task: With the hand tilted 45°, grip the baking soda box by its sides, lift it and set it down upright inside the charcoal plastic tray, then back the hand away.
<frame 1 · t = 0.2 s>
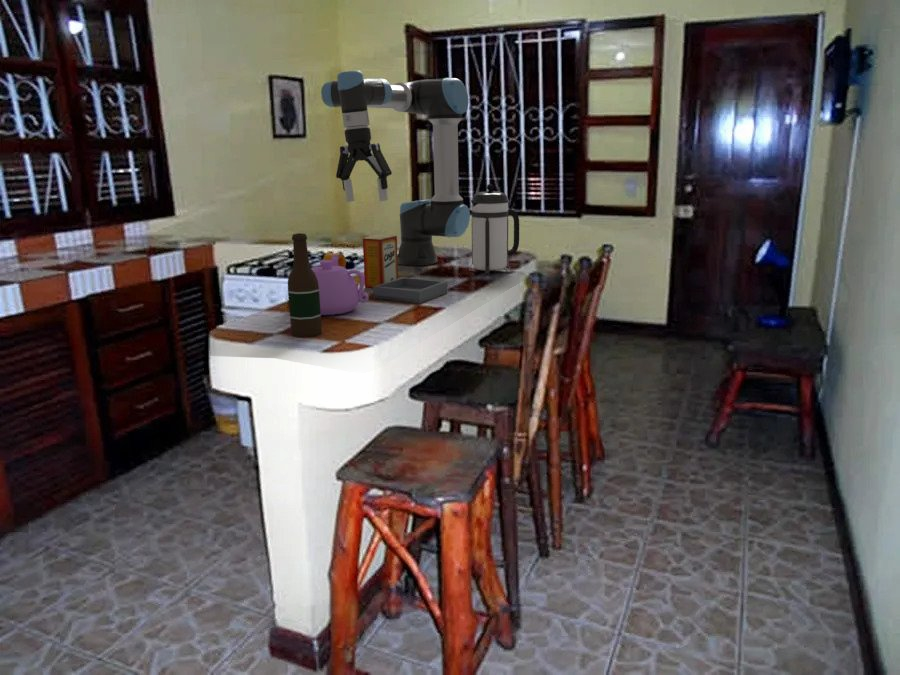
hand: (366, 201, 210), 27 cm above the table, tool pointing down, fingers open, 13 cm apart
teapot: (330, 309, 193), on the table
bracket: (339, 293, 214), on the table
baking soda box: (382, 286, 222), on the table
tray: (410, 295, 208), on the table
beer bottle: (306, 334, 169), on the table
coffee press: (492, 271, 244), on the table
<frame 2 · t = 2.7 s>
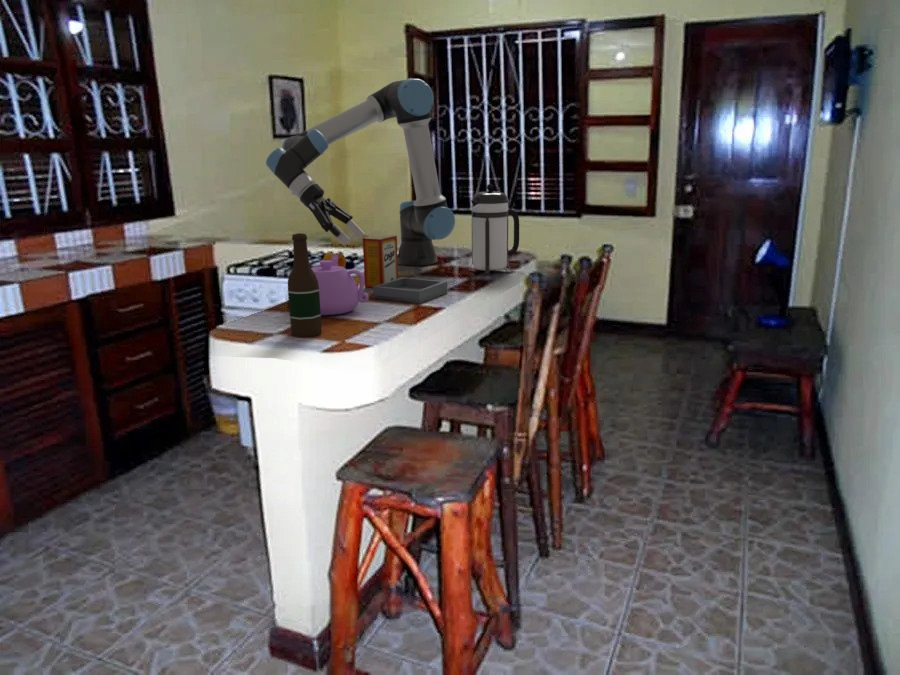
hand: (355, 239, 219), 15 cm above the table, tool tilted 45°, fingers open, 13 cm apart
nothing on the table moved.
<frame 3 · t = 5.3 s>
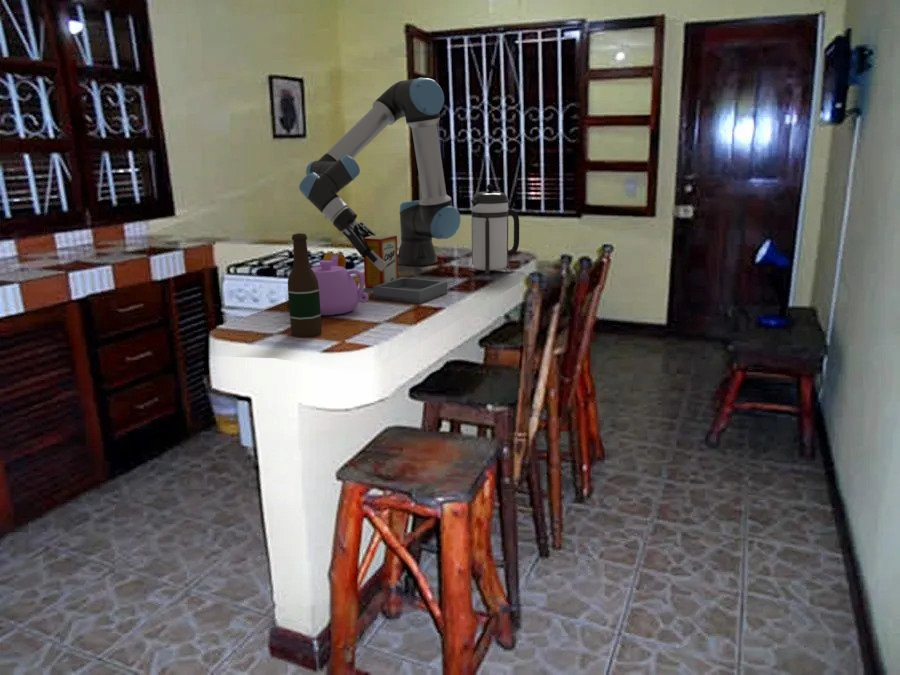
hand: (389, 265, 220), 7 cm above the table, tool tilted 45°, fingers closed on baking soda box, 11 cm apart
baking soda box: (382, 286, 222), on the table, touching gripper
everything else where it was.
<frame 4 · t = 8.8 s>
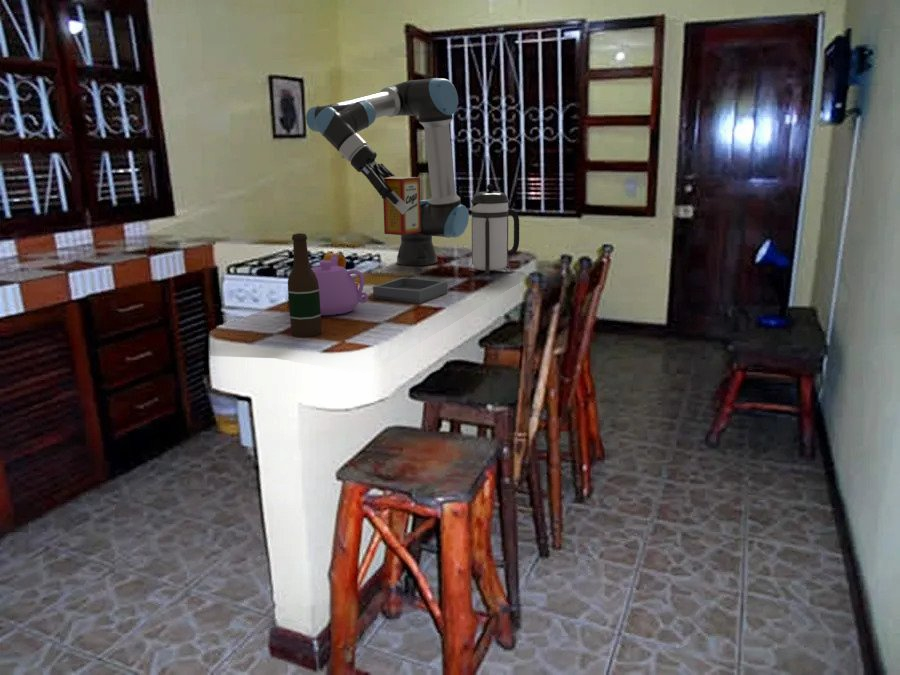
hand: (411, 209, 201), 25 cm above the table, tool tilted 45°, fingers closed on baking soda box, 11 cm apart
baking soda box: (402, 233, 204), point 18 cm above the table, touching gripper
everything else where it was.
when the fingers open (9 cm above the table, at t = 12.6 s): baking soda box drops 1 cm, resting on tray.
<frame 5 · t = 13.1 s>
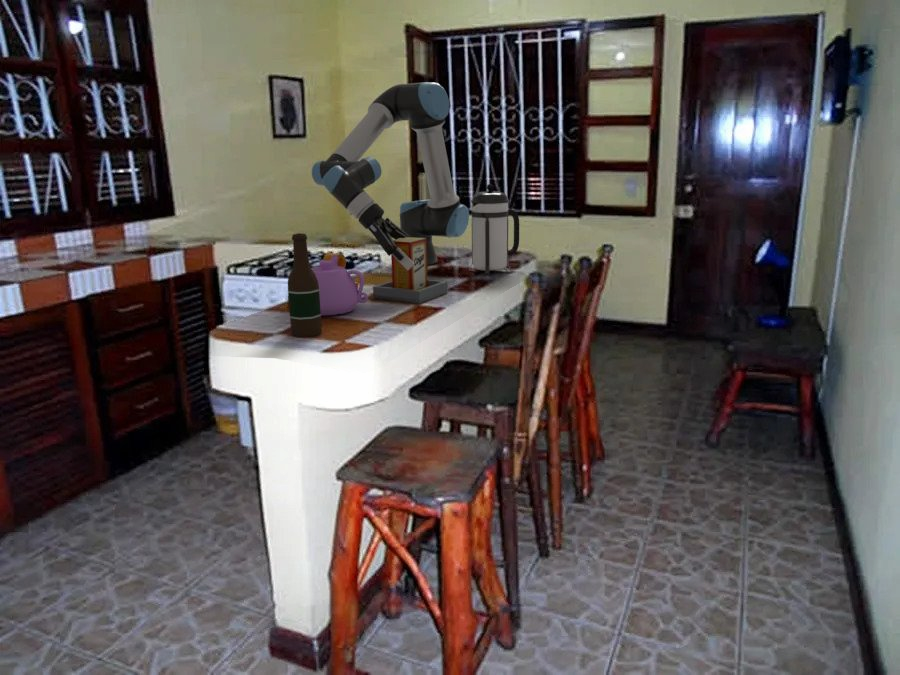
hand: (417, 263, 205), 10 cm above the table, tool tilted 45°, fingers open, 13 cm apart
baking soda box: (410, 292, 208), point 1 cm above the table, touching tray
everything else where it was.
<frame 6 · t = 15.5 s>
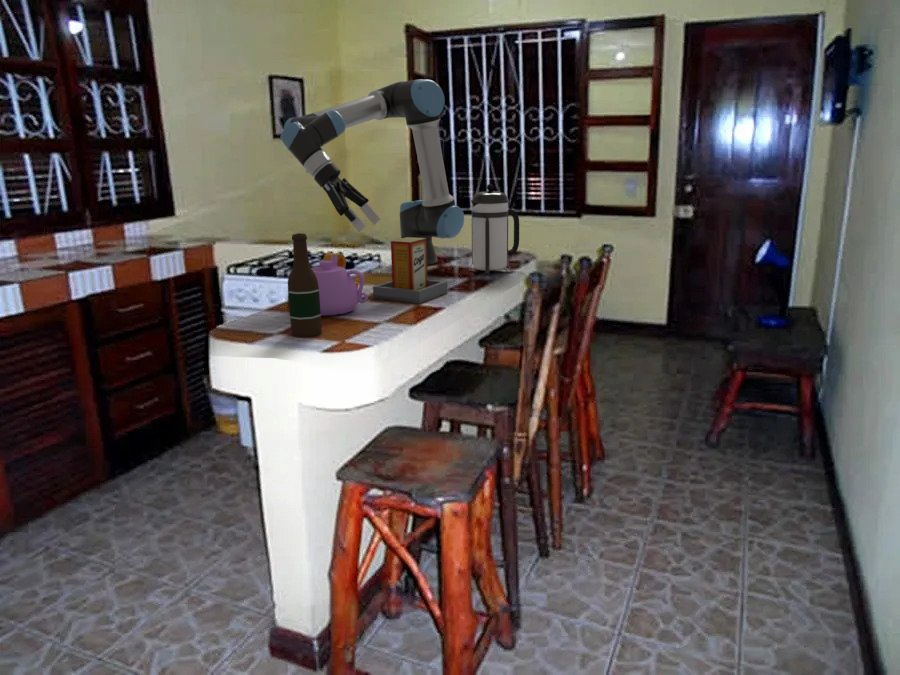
hand: (370, 225, 207), 20 cm above the table, tool tilted 40°, fingers open, 13 cm apart
nothing on the table moved.
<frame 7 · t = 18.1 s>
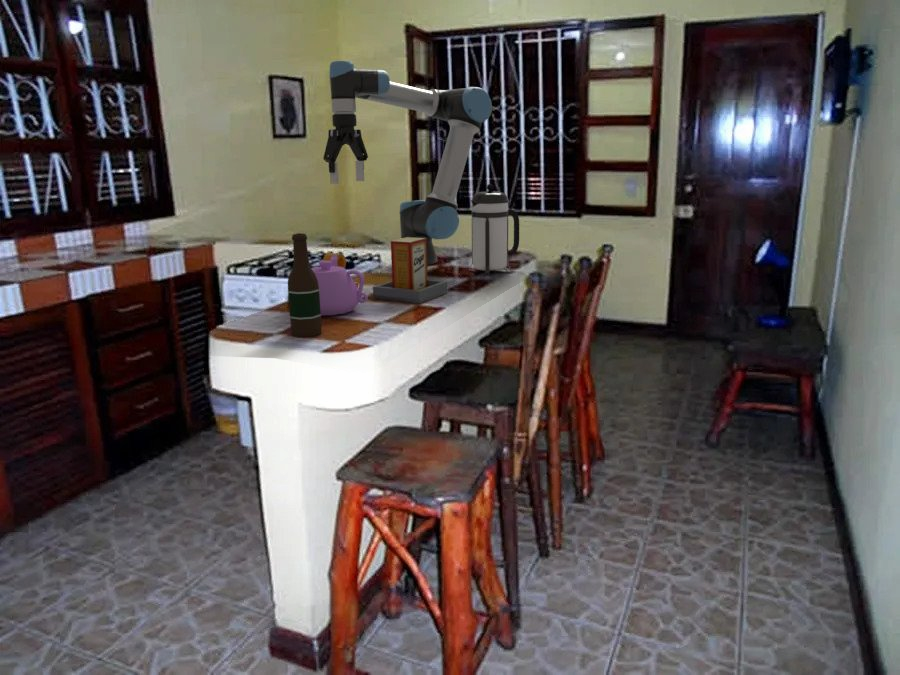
hand: (347, 182, 226), 32 cm above the table, tool pointing down, fingers open, 13 cm apart
nothing on the table moved.
at the end: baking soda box inside the target area on the tray (0.2 cm from its centre), point 0.8 cm above the tray's base; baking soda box tilted 0°; the gripper is holding nothing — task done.
